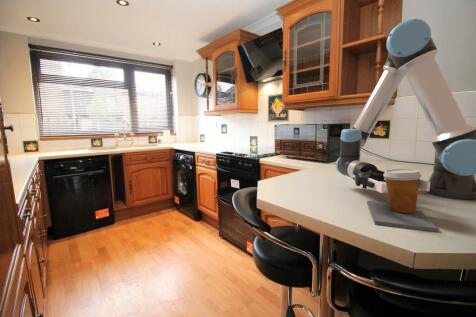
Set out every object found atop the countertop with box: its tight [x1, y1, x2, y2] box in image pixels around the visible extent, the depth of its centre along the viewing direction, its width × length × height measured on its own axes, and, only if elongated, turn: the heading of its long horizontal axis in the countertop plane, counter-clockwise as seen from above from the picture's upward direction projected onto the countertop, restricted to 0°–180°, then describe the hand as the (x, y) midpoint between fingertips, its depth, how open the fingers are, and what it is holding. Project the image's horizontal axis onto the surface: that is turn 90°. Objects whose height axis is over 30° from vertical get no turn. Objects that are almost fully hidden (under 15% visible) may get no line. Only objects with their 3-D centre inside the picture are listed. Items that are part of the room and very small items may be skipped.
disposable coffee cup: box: [383, 168, 422, 213], centre depth 72 cm, size 10×10×12 cm
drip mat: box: [366, 200, 438, 233], centre depth 71 cm, size 14×18×1 cm
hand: (406, 187), depth 67 cm, fingers open, 13 cm apart
